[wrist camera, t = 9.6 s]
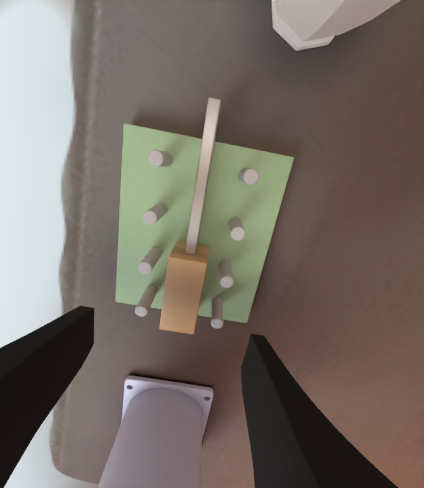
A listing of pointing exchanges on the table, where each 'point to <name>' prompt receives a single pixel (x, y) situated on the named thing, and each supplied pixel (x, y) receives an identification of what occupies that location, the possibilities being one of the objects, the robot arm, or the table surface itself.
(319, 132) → the table surface
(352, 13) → the cup
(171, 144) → the rack
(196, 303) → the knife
